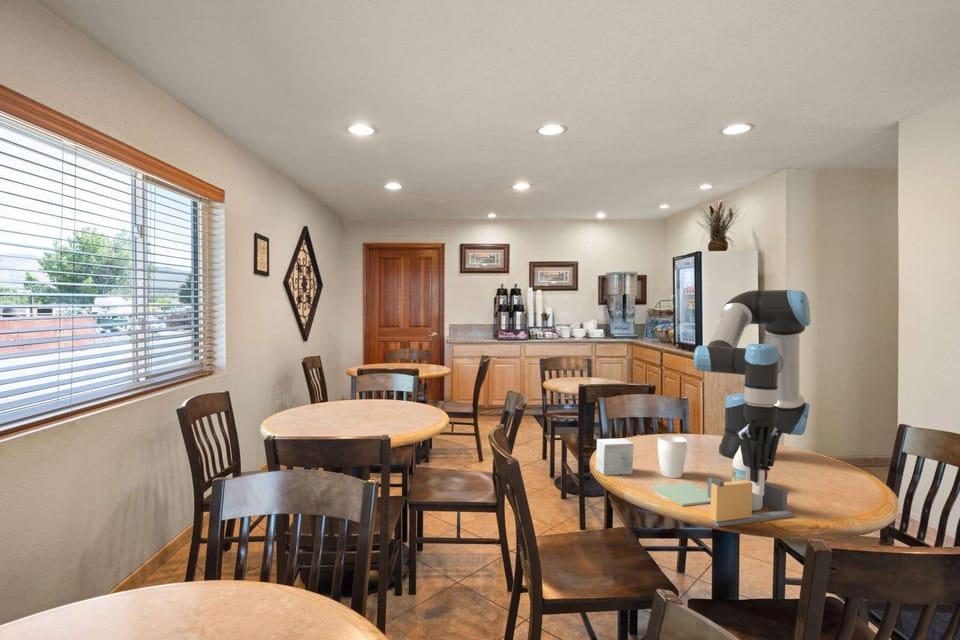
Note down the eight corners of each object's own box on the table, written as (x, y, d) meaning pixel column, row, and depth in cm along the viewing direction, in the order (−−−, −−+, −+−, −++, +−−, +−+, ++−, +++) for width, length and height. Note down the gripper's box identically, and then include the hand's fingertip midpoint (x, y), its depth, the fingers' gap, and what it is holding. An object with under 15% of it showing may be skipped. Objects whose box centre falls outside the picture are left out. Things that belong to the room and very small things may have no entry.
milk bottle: (759, 502, 140) (761, 432, 139) (765, 513, 133) (767, 439, 132) (729, 498, 142) (731, 430, 142) (733, 509, 135) (735, 436, 135)
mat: (689, 484, 154) (690, 482, 154) (723, 501, 140) (723, 499, 140) (651, 488, 150) (651, 486, 150) (682, 506, 136) (682, 504, 136)
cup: (688, 480, 157) (689, 443, 157) (658, 478, 159) (659, 441, 159) (682, 471, 166) (683, 436, 166) (654, 469, 168) (655, 434, 167)
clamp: (746, 494, 146) (747, 474, 146) (794, 516, 131) (795, 494, 131) (675, 502, 139) (676, 481, 139) (717, 526, 124) (718, 502, 124)
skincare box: (603, 476, 160) (604, 444, 160) (595, 469, 166) (596, 438, 166) (633, 474, 162) (634, 442, 162) (623, 468, 169) (624, 437, 168)
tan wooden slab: (744, 513, 129) (745, 474, 129) (752, 517, 126) (754, 478, 126) (709, 517, 126) (710, 478, 126) (717, 522, 123) (718, 481, 123)
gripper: (768, 399, 133) (765, 486, 134) (728, 402, 130) (726, 490, 130) (792, 405, 126) (789, 496, 127) (751, 408, 122) (748, 501, 123)
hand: (757, 493), depth 129 cm, fingers closed
